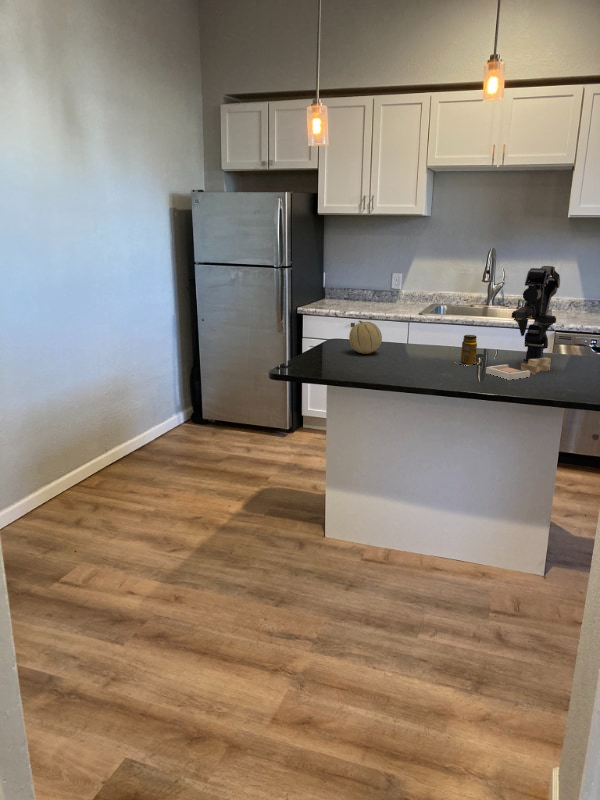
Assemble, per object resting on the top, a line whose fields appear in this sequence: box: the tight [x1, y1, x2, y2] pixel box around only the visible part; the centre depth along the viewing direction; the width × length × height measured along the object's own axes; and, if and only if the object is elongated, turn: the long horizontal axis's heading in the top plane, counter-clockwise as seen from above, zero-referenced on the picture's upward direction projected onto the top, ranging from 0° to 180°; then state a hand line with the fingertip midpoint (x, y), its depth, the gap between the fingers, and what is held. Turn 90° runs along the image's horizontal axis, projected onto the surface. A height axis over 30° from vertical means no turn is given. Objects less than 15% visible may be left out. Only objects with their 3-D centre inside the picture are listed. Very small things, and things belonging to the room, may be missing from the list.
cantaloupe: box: [348, 320, 383, 355], centre depth 276 cm, size 15×15×15 cm
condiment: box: [453, 334, 480, 367], centre depth 257 cm, size 7×8×12 cm
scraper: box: [520, 356, 552, 375], centre depth 246 cm, size 11×7×5 cm, turn 117°
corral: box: [485, 364, 531, 381], centre depth 239 cm, size 11×12×2 cm
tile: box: [498, 367, 521, 373], centre depth 240 cm, size 6×6×2 cm
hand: (530, 337), depth 251 cm, fingers open, 9 cm apart
